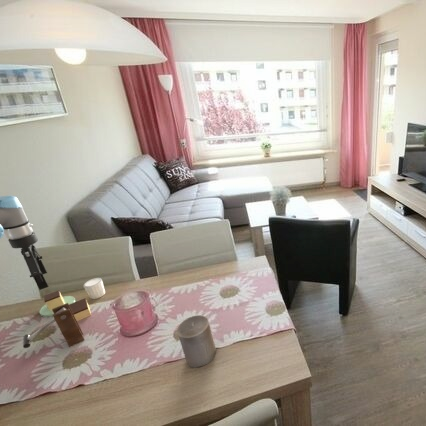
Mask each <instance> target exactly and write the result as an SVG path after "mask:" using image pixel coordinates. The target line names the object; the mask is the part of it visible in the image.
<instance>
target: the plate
mask: <svg viewBox="0 0 426 426" xmlns="http://www.w3.org/2000/svg"><path fill="white" fill-rule="evenodd" d="M62 297H63V299H64V304H66V303H68V304H72V303H74V302H77V300H76V298H75V297H74V296H72V295H65V296H62ZM39 314H40V316H41V317H43V318H49V317H53V315H54V312H53V311H52V310H51V311H49V309H48V307H47V305H46V303H45V304H44V305H43V306H42V307H41V308H40V309H39Z"/></svg>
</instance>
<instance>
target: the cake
mask: <svg viewBox="0 0 426 426" xmlns="http://www.w3.org/2000/svg"><path fill="white" fill-rule="evenodd" d="M69 306H70V308H71V310H72V312H73V314H74V316H75V318H76V320H77V322H79V321H81V320H84V319H86V318H88V317H91V316H92V312H91V308H90V305H89V303H88V300H87V298H82V299H79V300H76V301H75V302H74V303H72V304H69Z"/></svg>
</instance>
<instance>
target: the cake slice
mask: <svg viewBox="0 0 426 426" xmlns="http://www.w3.org/2000/svg"><path fill="white" fill-rule="evenodd" d="M43 297H44V298H43V300H44V303H45V304H46V305H47V307H48V309H49V311H51V310H52V309H53V308H56V307H59V306H61V305H64V299H63V297H64V296H63V295H62V293H61V291H60V290H56V291H53V292H51V293H47V294H45V295H43Z"/></svg>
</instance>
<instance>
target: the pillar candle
mask: <svg viewBox="0 0 426 426" xmlns="http://www.w3.org/2000/svg"><path fill="white" fill-rule="evenodd" d="M176 331H177V336H178V340H179V342H180V346H181V348H182V352H183V355H184V358H185V360H186V364H187V365H188V366H189V367H190V368H199V367H203V366H207V365H208V364H209V363H211V362H212V361H213V359H214V358H215V356H216V353H217V347H216V344H215V339H214V336H213V332H212V329H211V325H210V321H209V319H208V317H206V316H205V315H200V314H199V315H193V316H189V317H187V318H186V319H184V320H183V321H182V322H181V323H180V324H178V326H177V330H176Z"/></svg>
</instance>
